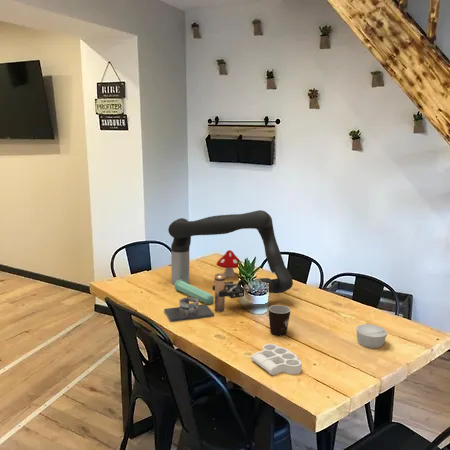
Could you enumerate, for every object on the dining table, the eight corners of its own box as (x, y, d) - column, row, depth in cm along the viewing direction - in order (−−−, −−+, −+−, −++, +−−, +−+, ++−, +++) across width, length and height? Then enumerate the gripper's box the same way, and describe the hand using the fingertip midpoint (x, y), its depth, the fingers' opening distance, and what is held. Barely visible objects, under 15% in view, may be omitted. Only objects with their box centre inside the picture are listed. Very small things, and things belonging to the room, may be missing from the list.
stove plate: (164, 311, 208) (164, 298, 207) (205, 306, 215) (205, 293, 214) (170, 322, 197) (170, 308, 196) (214, 316, 204) (214, 303, 202)
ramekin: (381, 352, 174) (382, 339, 173) (351, 344, 180) (352, 331, 179) (389, 341, 183) (390, 328, 182) (360, 334, 189) (361, 321, 188)
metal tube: (212, 308, 212) (213, 274, 209) (222, 307, 214) (223, 273, 210) (216, 312, 208) (216, 277, 205) (226, 311, 209) (226, 276, 206)
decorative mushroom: (210, 276, 257) (210, 249, 253) (229, 271, 266) (229, 245, 263) (228, 283, 246) (229, 255, 243) (247, 277, 256) (248, 250, 252)
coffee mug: (275, 339, 183) (276, 314, 181) (263, 330, 191) (264, 307, 189) (300, 333, 188) (301, 309, 186) (287, 325, 196) (288, 302, 194)
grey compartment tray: (245, 358, 169) (278, 348, 176) (276, 381, 154) (311, 370, 161) (245, 349, 168) (279, 340, 176) (276, 372, 153) (311, 361, 161)
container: (214, 291, 217) (181, 277, 235) (204, 299, 214) (172, 283, 232) (217, 301, 219) (185, 286, 238) (208, 309, 216) (176, 293, 235)
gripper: (244, 274, 219) (210, 278, 214) (256, 284, 206) (221, 288, 201) (243, 290, 221) (210, 293, 216) (256, 300, 208) (221, 305, 202)
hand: (215, 291), depth 208 cm, fingers open, 8 cm apart
